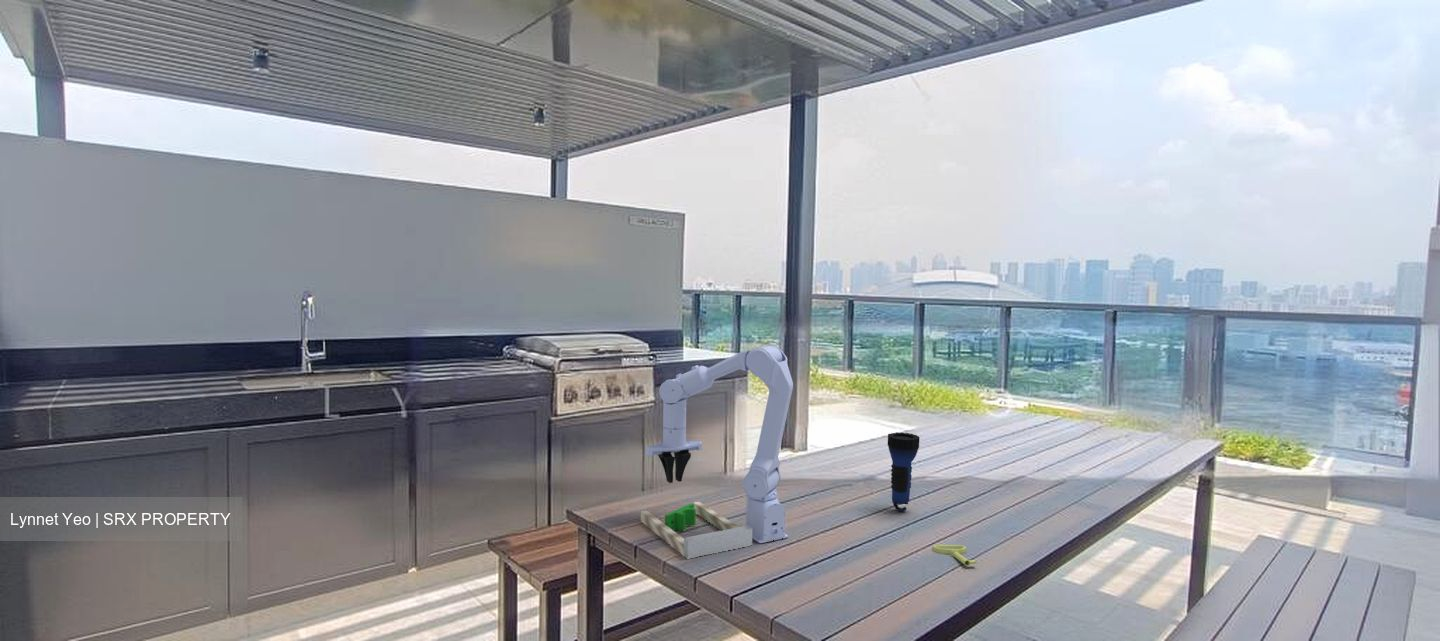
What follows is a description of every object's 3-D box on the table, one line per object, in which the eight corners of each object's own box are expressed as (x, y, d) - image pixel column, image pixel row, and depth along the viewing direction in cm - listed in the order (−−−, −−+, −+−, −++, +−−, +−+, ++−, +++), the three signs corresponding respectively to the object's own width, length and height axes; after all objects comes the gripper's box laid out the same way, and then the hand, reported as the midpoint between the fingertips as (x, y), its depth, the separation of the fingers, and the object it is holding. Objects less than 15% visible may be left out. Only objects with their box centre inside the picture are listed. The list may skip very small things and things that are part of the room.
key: (966, 572, 132) (967, 561, 132) (928, 549, 144) (928, 540, 144) (994, 567, 135) (994, 557, 135) (954, 546, 146) (954, 536, 146)
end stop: (752, 546, 144) (752, 528, 143) (687, 559, 136) (688, 541, 136) (747, 542, 145) (747, 525, 145) (683, 556, 138) (683, 537, 137)
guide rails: (747, 542, 145) (747, 532, 145) (683, 556, 138) (683, 544, 137) (698, 511, 166) (698, 501, 166) (640, 521, 158) (640, 511, 158)
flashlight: (917, 518, 163) (919, 440, 162) (884, 514, 165) (886, 437, 165) (918, 508, 170) (919, 433, 170) (887, 505, 173) (889, 431, 172)
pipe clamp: (676, 536, 150) (676, 517, 149) (664, 532, 152) (664, 514, 151) (702, 522, 158) (702, 505, 158) (690, 519, 160) (690, 502, 160)
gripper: (693, 421, 167) (692, 473, 167) (641, 426, 160) (640, 480, 160) (706, 426, 161) (705, 480, 161) (652, 432, 153) (652, 488, 154)
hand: (674, 481), depth 160 cm, fingers closed
